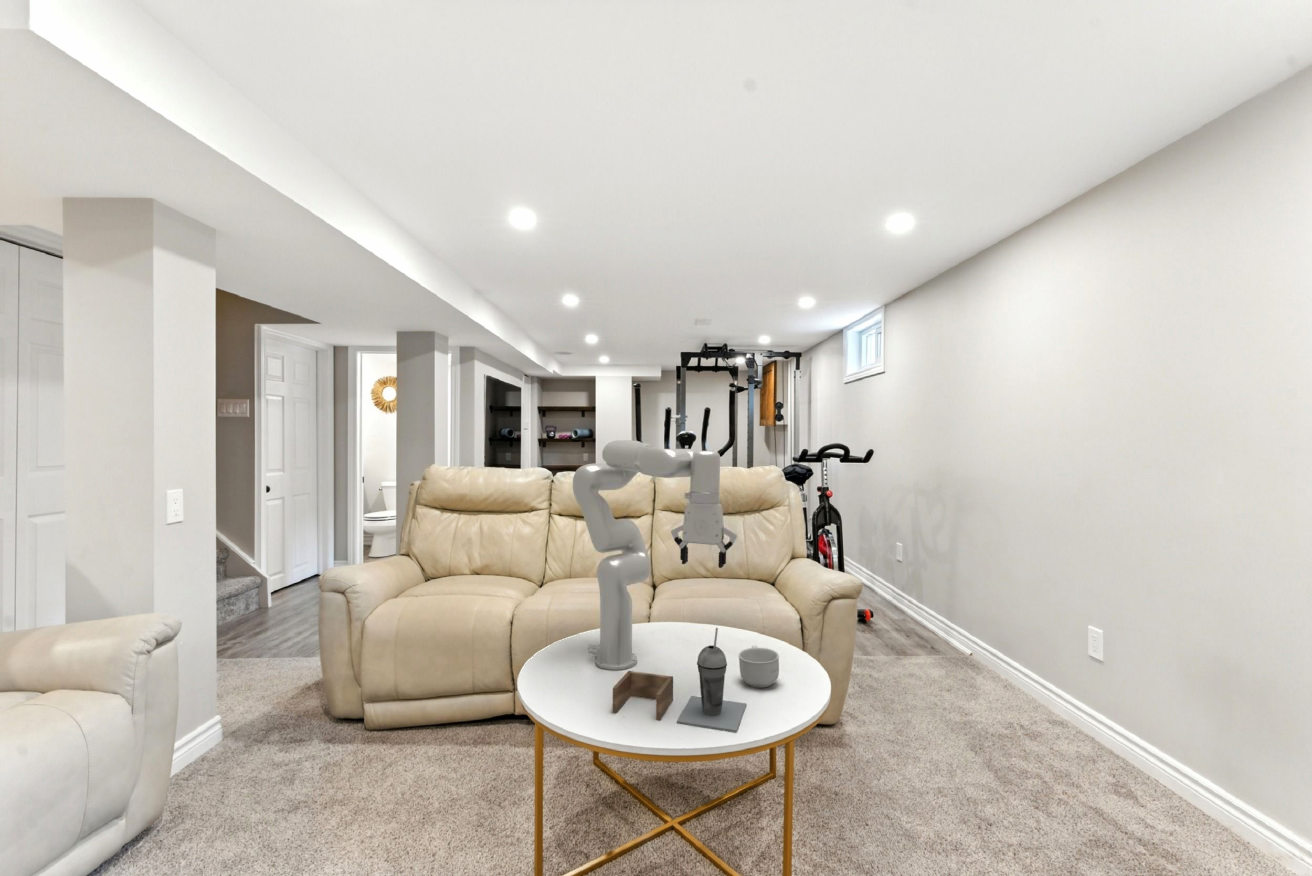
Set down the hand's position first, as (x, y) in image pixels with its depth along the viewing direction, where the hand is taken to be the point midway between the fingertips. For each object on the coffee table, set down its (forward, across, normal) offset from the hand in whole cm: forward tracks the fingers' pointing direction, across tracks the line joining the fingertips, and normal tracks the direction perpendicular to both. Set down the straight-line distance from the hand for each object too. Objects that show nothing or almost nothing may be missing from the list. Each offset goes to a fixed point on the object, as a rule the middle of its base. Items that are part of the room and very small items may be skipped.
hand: (702, 565), depth 146 cm
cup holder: (+34, -11, -11) cm, 37 cm away
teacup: (+34, +13, +14) cm, 39 cm away
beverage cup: (+33, +5, -9) cm, 35 cm away
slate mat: (+33, +6, -9) cm, 35 cm away
